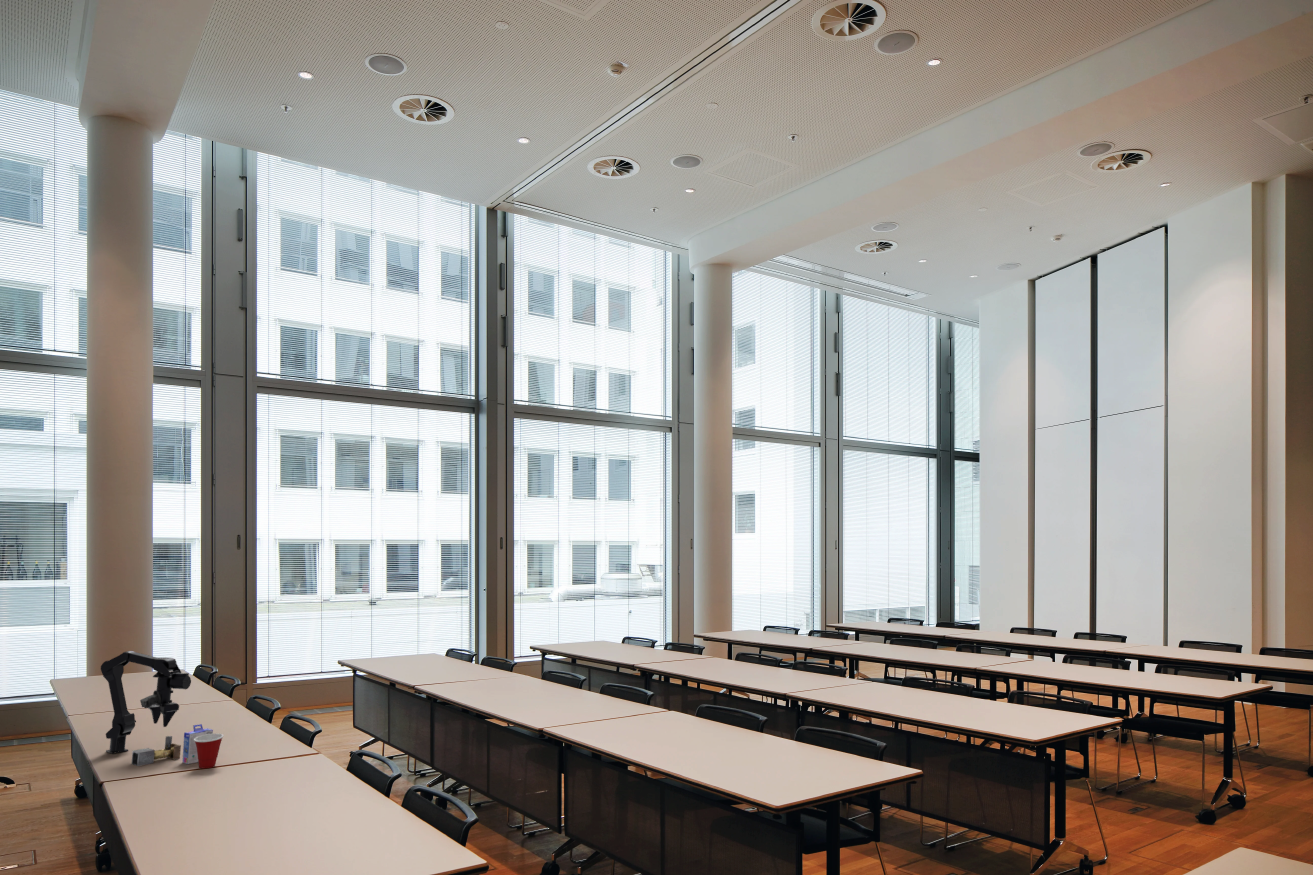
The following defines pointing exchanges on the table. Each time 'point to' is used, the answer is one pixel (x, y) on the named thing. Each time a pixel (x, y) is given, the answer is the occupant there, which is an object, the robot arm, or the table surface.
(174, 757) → the socket block
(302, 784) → the table surface
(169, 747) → the gold elongated piece
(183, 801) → the table surface
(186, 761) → the ink cartridge box
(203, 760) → the plastic cup
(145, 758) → the grey hammer head
